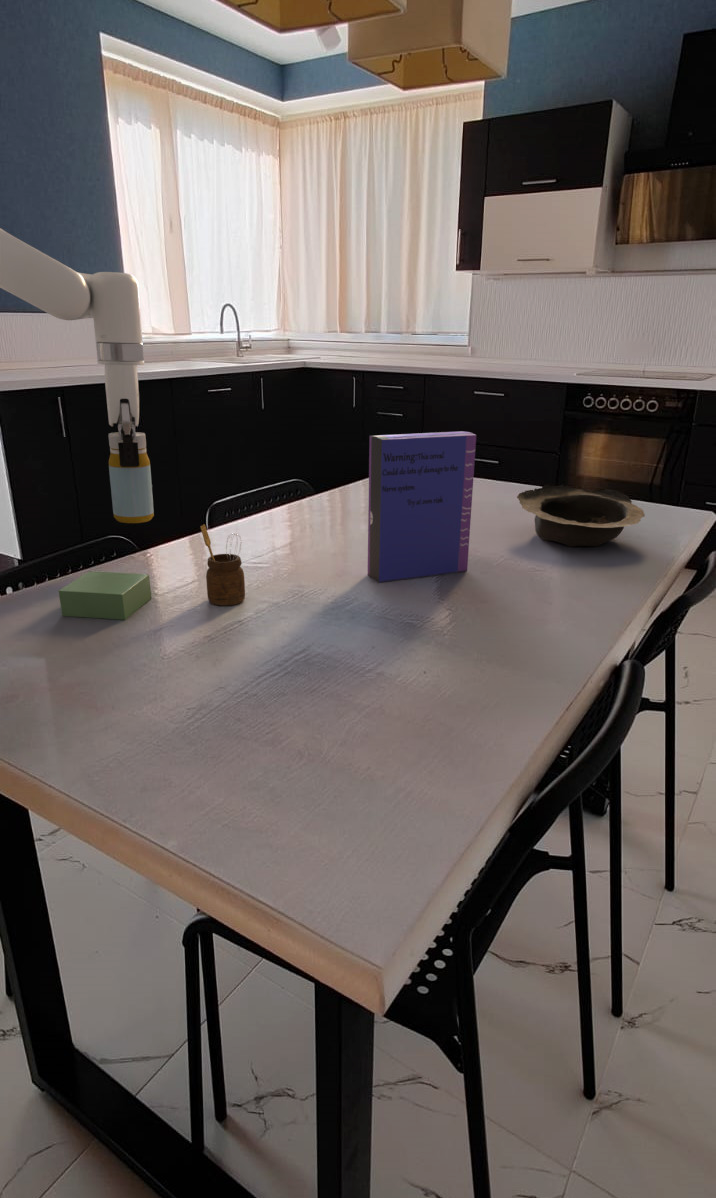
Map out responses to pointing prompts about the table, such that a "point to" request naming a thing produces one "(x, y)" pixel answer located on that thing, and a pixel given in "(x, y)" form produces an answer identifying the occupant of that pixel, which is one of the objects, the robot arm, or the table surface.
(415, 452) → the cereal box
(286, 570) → the table surface
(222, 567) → the utensil holder
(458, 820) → the table surface
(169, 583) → the table surface
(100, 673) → the table surface
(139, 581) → the green block
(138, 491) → the bottle
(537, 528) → the stone bowl
